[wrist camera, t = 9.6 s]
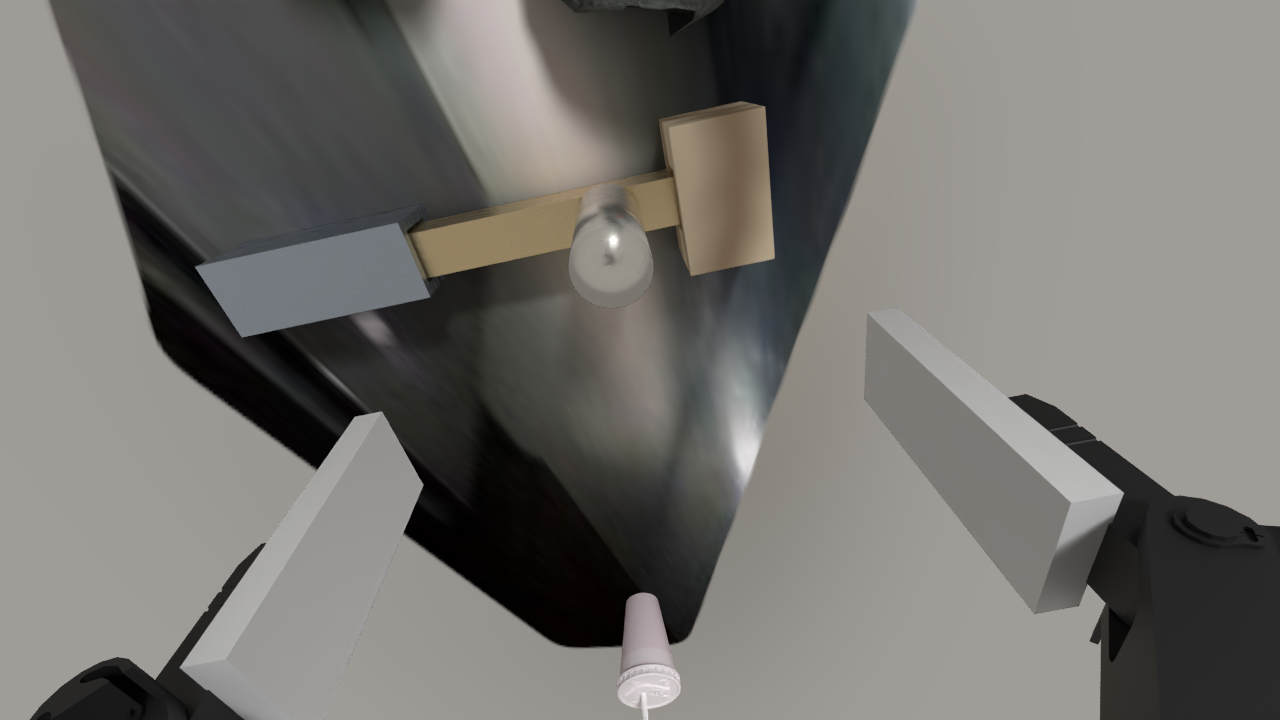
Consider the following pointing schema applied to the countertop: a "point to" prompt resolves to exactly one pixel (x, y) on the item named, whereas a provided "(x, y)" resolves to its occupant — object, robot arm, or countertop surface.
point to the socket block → (721, 185)
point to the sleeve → (320, 272)
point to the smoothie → (646, 657)
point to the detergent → (681, 3)
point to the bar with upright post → (563, 235)
